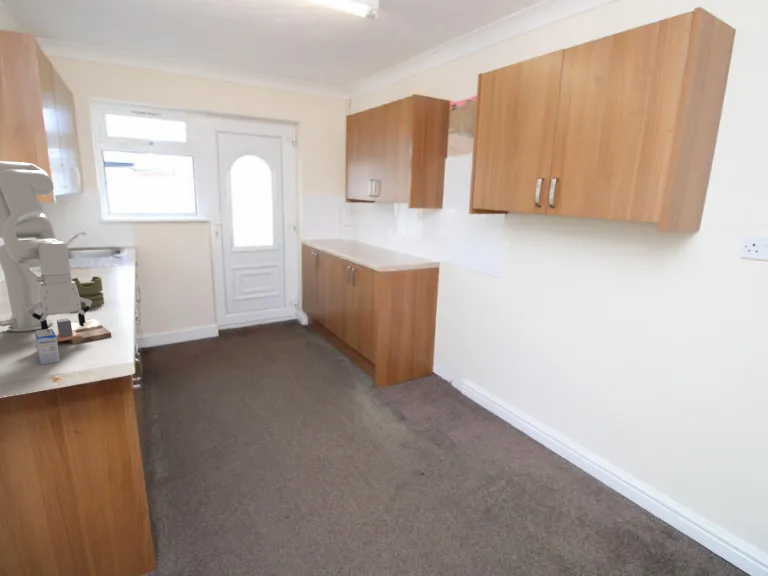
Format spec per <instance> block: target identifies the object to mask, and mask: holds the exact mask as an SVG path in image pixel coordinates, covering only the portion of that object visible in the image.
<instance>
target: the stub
mask: <svg viewBox="0 0 768 576" xmlns="http://www.w3.org/2000/svg"><path fill="white" fill-rule="evenodd" d="M71 323H72V321H71V320H70V319H69V318H67V317H66V318H60V319H56V324H57V329H58V331H57V332H58V333H55V335H56V338H57V343H58V342H62V341H68V340H69V339H74V338H79V335H78V334H77V333H76V332H75V331H72V326H71ZM69 341H70V340H69Z"/></svg>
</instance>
